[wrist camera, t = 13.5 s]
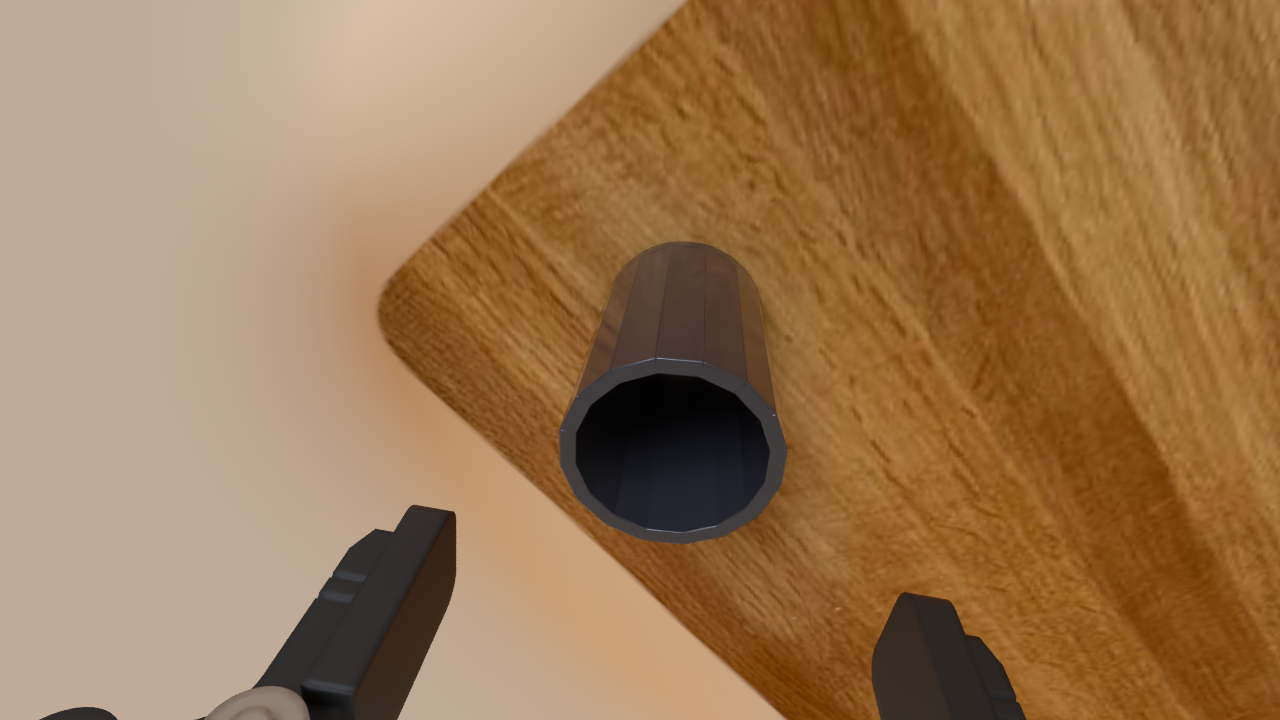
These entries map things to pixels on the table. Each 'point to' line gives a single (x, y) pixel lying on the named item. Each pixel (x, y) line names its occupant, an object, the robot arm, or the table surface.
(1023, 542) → the table surface
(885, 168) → the table surface
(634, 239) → the table surface
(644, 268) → the cup
